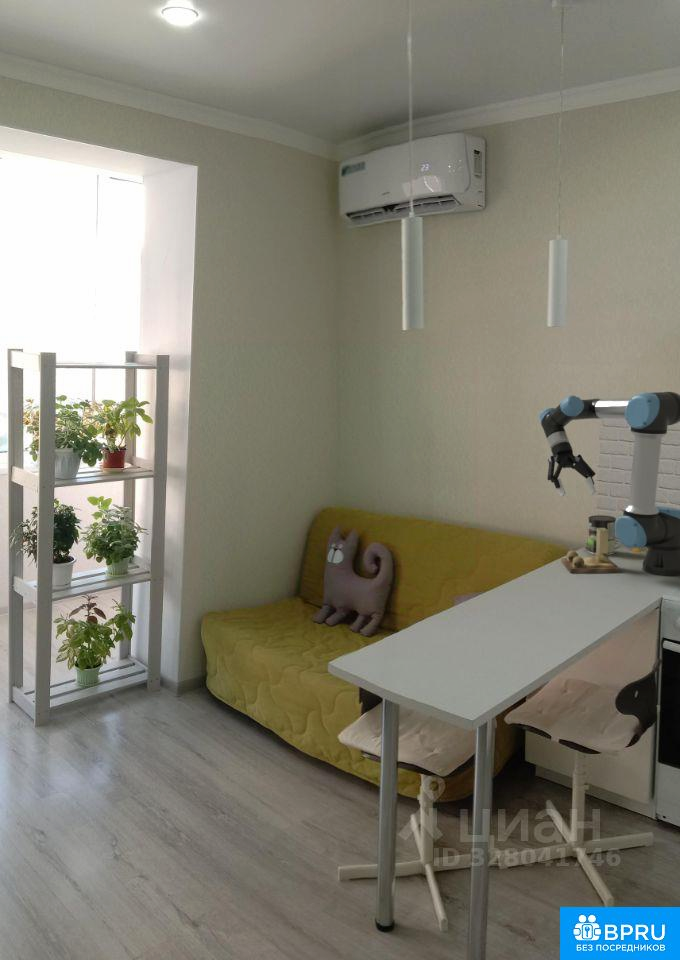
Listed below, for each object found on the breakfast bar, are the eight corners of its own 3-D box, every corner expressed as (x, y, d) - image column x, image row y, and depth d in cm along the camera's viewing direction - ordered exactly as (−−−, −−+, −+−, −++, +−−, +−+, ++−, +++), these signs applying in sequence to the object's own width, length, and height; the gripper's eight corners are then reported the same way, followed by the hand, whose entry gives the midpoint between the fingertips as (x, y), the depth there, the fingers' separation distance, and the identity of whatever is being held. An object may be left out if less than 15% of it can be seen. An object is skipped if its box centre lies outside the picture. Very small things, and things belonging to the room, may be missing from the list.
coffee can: (594, 556, 318) (594, 520, 316) (583, 550, 328) (584, 515, 326) (619, 554, 319) (620, 519, 317) (608, 549, 329) (608, 514, 327)
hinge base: (608, 561, 309) (608, 548, 308) (619, 572, 293) (620, 558, 292) (561, 562, 310) (561, 549, 309) (570, 573, 294) (570, 559, 293)
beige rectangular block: (605, 559, 303) (606, 527, 301) (608, 562, 298) (609, 530, 297) (594, 559, 303) (595, 527, 302) (597, 562, 299) (598, 530, 297)
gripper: (581, 449, 322) (600, 497, 313) (527, 451, 313) (545, 501, 304) (592, 439, 315) (611, 487, 306) (537, 441, 307) (555, 491, 298)
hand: (578, 494), depth 305 cm, fingers open, 13 cm apart
